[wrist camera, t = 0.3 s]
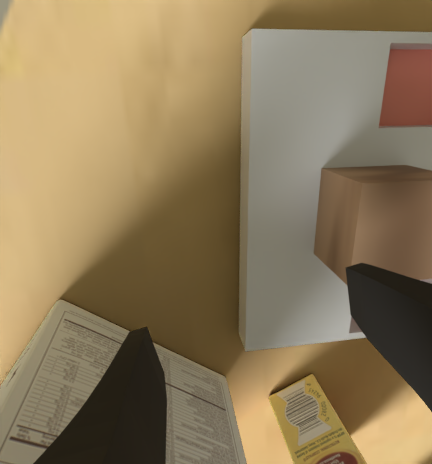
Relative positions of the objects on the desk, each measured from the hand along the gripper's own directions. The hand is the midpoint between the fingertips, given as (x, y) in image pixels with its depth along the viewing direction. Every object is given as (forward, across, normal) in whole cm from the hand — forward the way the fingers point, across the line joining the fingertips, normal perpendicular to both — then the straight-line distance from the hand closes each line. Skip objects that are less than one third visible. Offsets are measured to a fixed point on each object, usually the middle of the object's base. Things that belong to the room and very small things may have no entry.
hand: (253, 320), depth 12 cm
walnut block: (+8, -8, 0) cm, 11 cm away
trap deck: (+10, -12, +1) cm, 15 cm away
